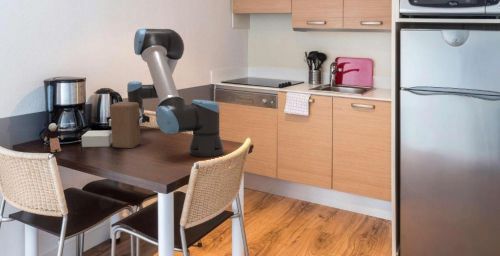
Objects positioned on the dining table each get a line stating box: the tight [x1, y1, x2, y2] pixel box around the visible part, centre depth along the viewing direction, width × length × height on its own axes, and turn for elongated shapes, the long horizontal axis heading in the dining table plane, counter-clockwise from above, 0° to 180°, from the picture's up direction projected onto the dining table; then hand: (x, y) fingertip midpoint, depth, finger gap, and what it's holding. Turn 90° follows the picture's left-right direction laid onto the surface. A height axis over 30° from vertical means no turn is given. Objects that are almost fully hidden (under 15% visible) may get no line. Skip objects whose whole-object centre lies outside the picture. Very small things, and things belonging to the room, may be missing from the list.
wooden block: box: [109, 101, 142, 149], centre depth 207 cm, size 10×10×20 cm
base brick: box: [81, 129, 113, 148], centre depth 212 cm, size 12×12×5 cm
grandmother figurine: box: [43, 122, 64, 153], centre depth 197 cm, size 8×4×13 cm, turn 135°
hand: (125, 123), depth 206 cm, fingers open, 13 cm apart
